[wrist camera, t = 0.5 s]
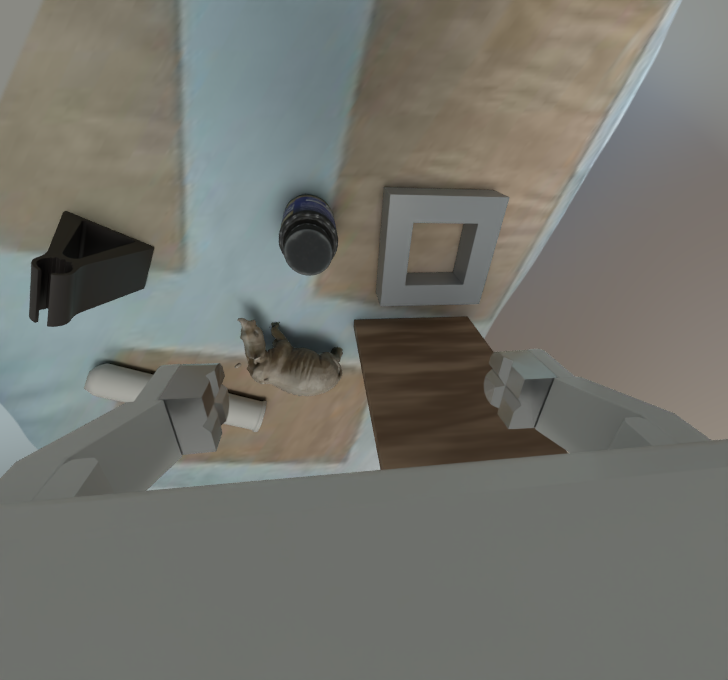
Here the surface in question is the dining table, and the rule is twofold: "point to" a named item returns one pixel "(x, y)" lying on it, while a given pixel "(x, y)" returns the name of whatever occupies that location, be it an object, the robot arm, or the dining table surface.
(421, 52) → the dining table surface
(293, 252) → the pill bottle
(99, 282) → the phone stand
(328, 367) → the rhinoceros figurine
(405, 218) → the socket block
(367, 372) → the wood grain plank
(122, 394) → the tube
